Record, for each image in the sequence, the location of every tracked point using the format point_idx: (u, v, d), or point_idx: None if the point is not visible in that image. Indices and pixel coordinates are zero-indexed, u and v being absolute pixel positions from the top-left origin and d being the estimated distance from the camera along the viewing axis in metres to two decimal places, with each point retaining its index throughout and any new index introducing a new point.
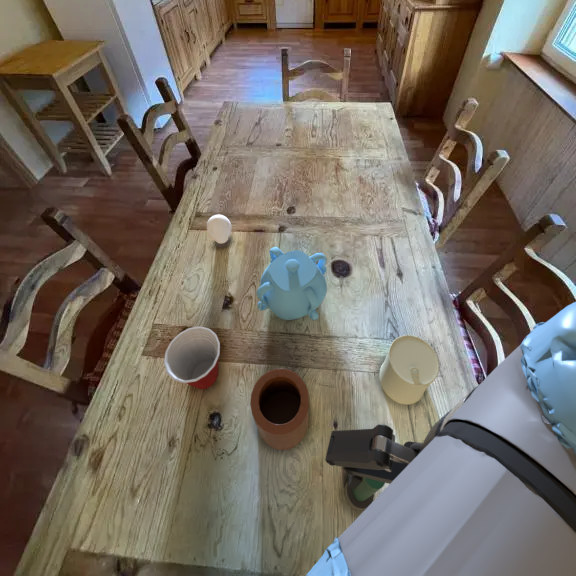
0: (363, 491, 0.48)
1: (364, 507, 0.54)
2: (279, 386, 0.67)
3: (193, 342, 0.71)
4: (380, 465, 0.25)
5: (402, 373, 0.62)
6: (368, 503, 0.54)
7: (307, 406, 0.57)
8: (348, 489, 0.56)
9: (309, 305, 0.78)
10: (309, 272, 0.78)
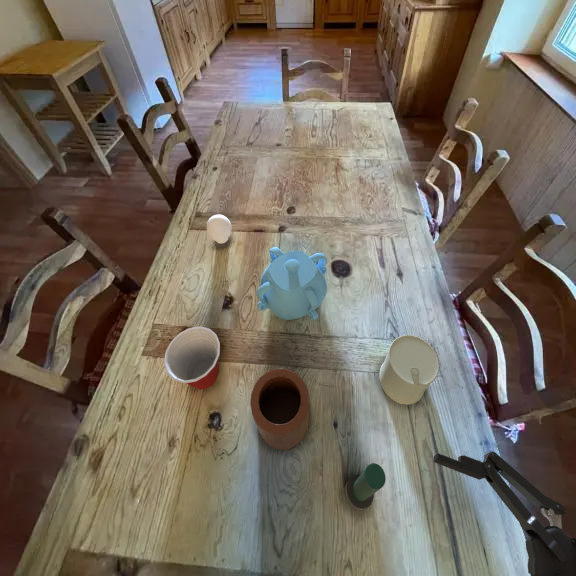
0: (363, 491, 0.48)
1: (364, 507, 0.54)
2: (279, 386, 0.67)
3: (193, 342, 0.71)
4: (561, 509, 0.47)
5: (402, 373, 0.62)
6: (368, 503, 0.54)
7: (307, 406, 0.57)
8: (348, 489, 0.56)
9: (309, 305, 0.78)
10: (309, 272, 0.78)
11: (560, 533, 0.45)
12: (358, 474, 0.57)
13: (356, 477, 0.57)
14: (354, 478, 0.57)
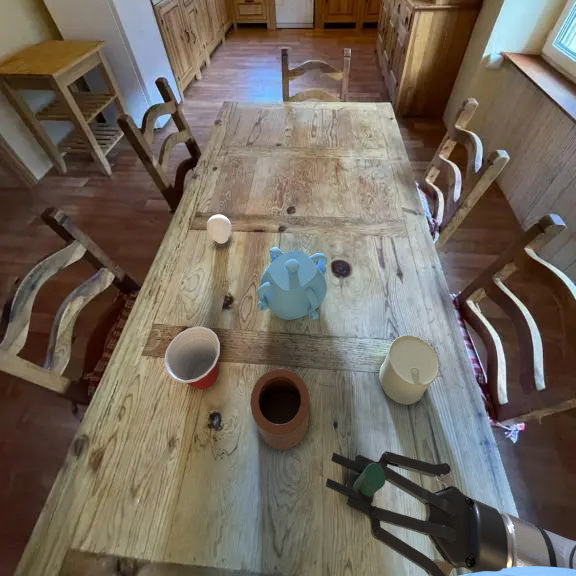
0: (363, 491, 0.48)
1: None
2: (279, 386, 0.67)
3: (193, 342, 0.71)
4: (447, 467, 0.51)
5: (401, 373, 0.62)
6: None
7: (307, 406, 0.57)
8: None
9: (309, 305, 0.78)
10: (309, 272, 0.78)
11: (456, 492, 0.49)
12: (358, 474, 0.57)
13: (356, 477, 0.57)
14: (354, 478, 0.57)
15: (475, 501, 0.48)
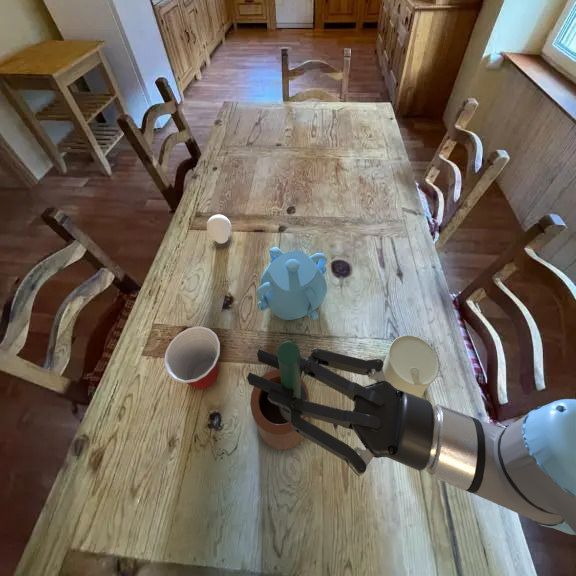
0: (283, 380, 0.44)
1: None
2: None
3: (193, 342, 0.71)
4: (380, 362, 0.47)
5: (401, 373, 0.62)
6: None
7: None
8: None
9: (309, 305, 0.78)
10: (309, 272, 0.78)
11: (387, 386, 0.45)
12: None
13: None
14: None
15: (405, 392, 0.44)
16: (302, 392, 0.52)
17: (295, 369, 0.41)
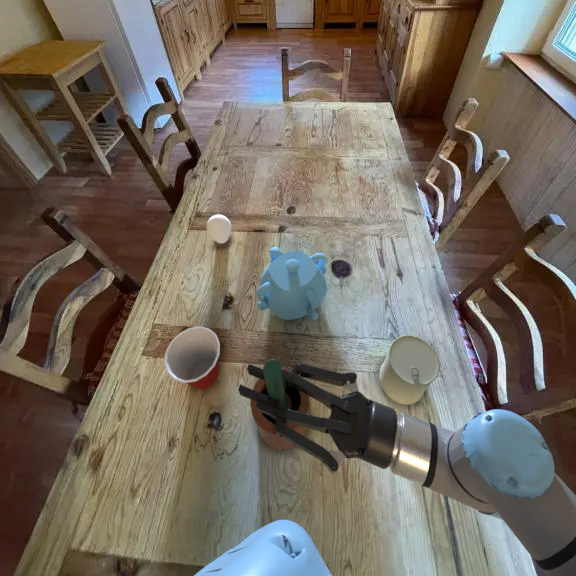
0: (269, 392, 0.51)
1: None
2: None
3: (193, 342, 0.71)
4: (354, 375, 0.54)
5: (401, 373, 0.62)
6: None
7: (307, 406, 0.57)
8: None
9: (309, 305, 0.78)
10: (309, 272, 0.78)
11: (359, 396, 0.52)
12: None
13: None
14: None
15: (374, 402, 0.51)
16: (287, 401, 0.59)
17: (278, 383, 0.48)
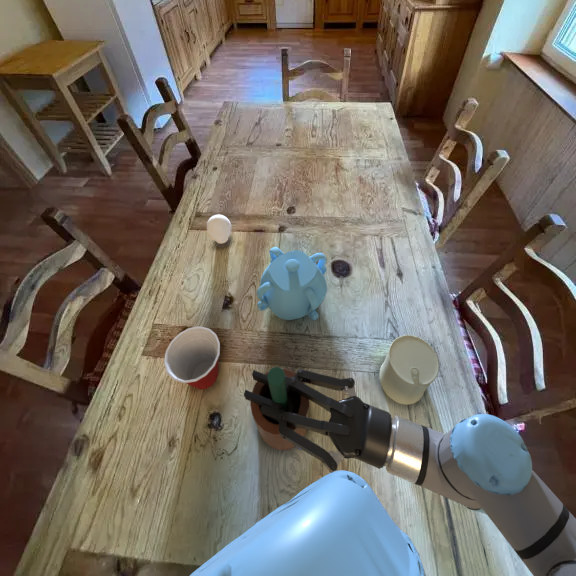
0: (272, 397, 0.54)
1: None
2: None
3: (193, 342, 0.71)
4: (352, 381, 0.57)
5: (402, 373, 0.62)
6: None
7: (307, 406, 0.57)
8: None
9: (309, 305, 0.78)
10: (309, 272, 0.78)
11: (357, 400, 0.56)
12: None
13: None
14: None
15: (371, 406, 0.54)
16: (290, 404, 0.63)
17: (281, 389, 0.51)
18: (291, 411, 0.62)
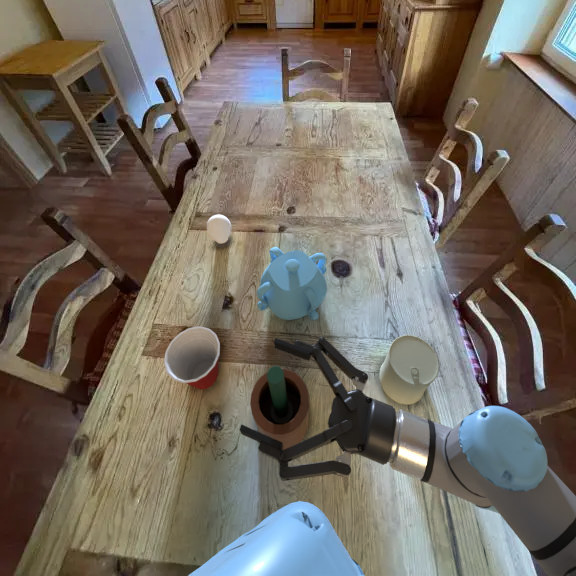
0: (272, 396, 0.56)
1: (283, 422, 0.62)
2: None
3: (193, 342, 0.71)
4: (365, 376, 0.55)
5: (401, 373, 0.62)
6: (287, 419, 0.62)
7: (307, 406, 0.57)
8: (271, 409, 0.64)
9: (309, 305, 0.78)
10: (309, 272, 0.78)
11: (359, 394, 0.53)
12: None
13: None
14: None
15: (374, 399, 0.52)
16: (289, 406, 0.64)
17: (281, 387, 0.53)
18: (291, 412, 0.63)
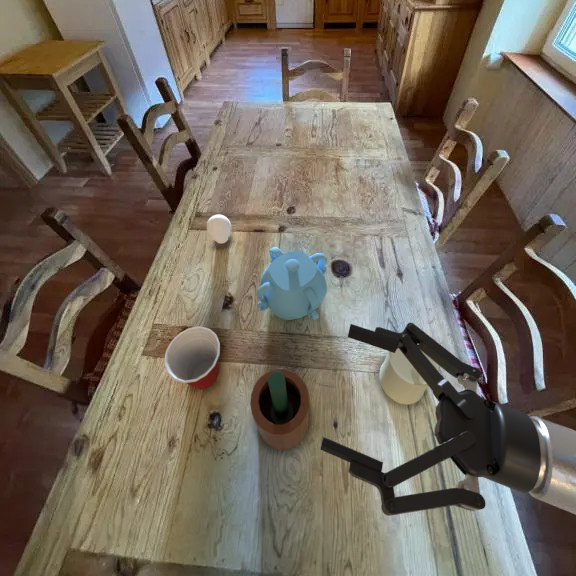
0: (273, 400, 0.55)
1: None
2: None
3: (193, 342, 0.71)
4: (478, 372, 0.42)
5: (401, 373, 0.62)
6: (287, 421, 0.62)
7: (307, 406, 0.57)
8: (271, 410, 0.63)
9: (309, 305, 0.78)
10: (309, 272, 0.78)
11: (473, 396, 0.40)
12: None
13: None
14: None
15: (497, 403, 0.39)
16: (290, 407, 0.64)
17: (282, 393, 0.52)
18: (291, 414, 0.63)
